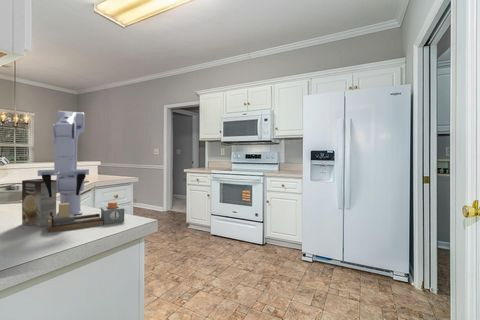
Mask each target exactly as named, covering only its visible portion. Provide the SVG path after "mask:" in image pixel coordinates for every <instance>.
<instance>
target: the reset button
mask: <svg viewBox="0 0 480 320" xmlns="http://www.w3.org/2000/svg"><path fill="white" fill-rule="evenodd" d="M117 205H118V201H110V202H107V206H108V209H116V208H117Z"/></svg>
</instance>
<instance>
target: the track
mask: <svg viewBox="0 0 480 320" xmlns="http://www.w3.org/2000/svg"><path fill="white" fill-rule="evenodd" d="M74 216H75V221H70V222H62V223H54V224H53V219H52V216H48V225H47V233H55V232H64V231H70V230H76V229H85V228H90V227H98V226H104V223H103V217H102V218H101V213H95V214H94V213H93V214H85V215H83V214H82V215H74Z"/></svg>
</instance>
